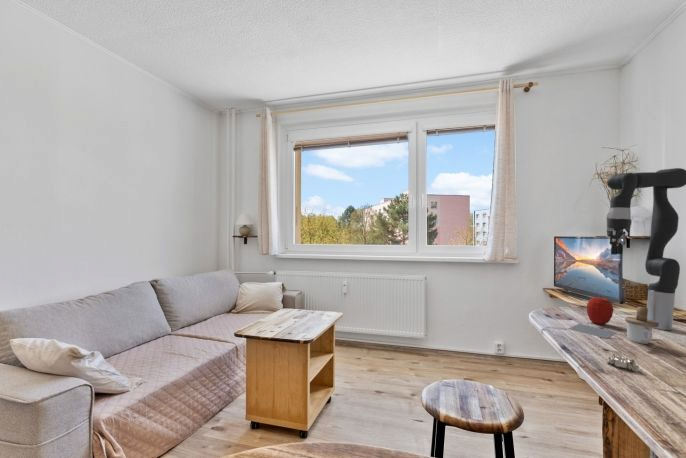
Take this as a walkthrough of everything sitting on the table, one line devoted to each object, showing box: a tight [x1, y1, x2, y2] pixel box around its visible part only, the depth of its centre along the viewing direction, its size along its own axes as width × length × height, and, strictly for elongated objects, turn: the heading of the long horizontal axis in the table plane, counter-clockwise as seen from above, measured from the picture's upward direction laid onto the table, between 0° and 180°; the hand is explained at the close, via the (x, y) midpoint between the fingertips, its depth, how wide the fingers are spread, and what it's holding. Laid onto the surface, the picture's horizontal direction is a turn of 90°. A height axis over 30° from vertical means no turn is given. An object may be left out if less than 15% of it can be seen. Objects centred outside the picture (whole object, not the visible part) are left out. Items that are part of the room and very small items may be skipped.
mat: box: [567, 323, 618, 340], centre depth 146 cm, size 15×14×1 cm
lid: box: [624, 306, 659, 327], centre depth 134 cm, size 10×10×6 cm
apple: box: [586, 294, 615, 326], centre depth 159 cm, size 10×10×14 cm
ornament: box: [606, 353, 640, 373], centre depth 109 cm, size 8×7×4 cm
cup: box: [626, 322, 654, 345], centre depth 134 cm, size 11×8×8 cm
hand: (616, 254), depth 150 cm, fingers open, 8 cm apart
